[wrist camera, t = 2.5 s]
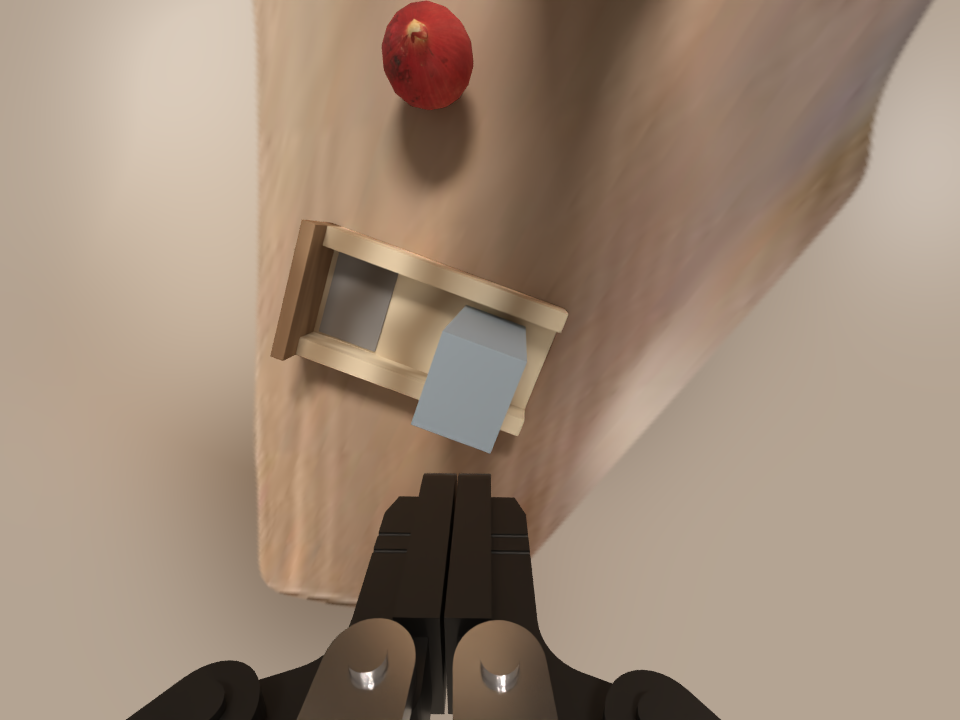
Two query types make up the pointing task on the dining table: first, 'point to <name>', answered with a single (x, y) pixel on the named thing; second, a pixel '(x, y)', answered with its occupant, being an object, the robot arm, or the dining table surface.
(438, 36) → the pomegranate
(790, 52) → the dining table surface
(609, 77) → the dining table surface
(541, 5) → the dining table surface
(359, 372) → the wooden tray frame
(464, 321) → the block
